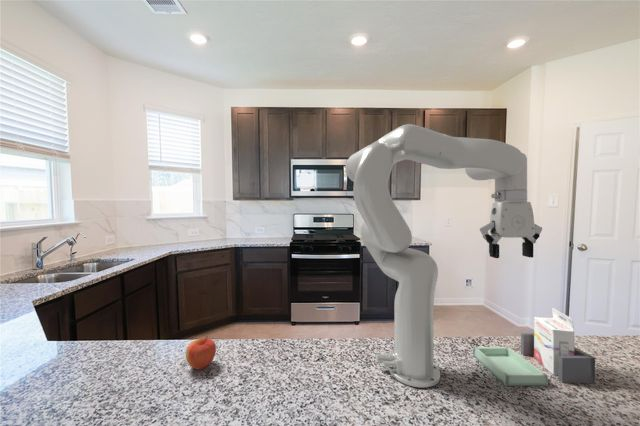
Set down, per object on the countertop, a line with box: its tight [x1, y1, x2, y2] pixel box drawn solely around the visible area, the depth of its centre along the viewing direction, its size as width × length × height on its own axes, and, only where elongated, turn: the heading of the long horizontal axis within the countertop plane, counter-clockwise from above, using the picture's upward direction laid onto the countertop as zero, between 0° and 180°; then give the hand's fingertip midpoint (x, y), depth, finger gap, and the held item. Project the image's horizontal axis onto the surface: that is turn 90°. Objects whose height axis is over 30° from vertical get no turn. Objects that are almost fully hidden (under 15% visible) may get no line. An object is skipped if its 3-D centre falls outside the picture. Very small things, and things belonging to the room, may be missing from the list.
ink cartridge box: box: [533, 307, 575, 376], centre depth 70 cm, size 9×5×15 cm, turn 168°
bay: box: [520, 332, 596, 384], centre depth 70 cm, size 8×13×6 cm, turn 0°
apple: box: [185, 335, 217, 371], centre depth 70 cm, size 7×7×8 cm
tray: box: [472, 346, 548, 387], centre depth 69 cm, size 10×13×2 cm
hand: (511, 257), depth 75 cm, fingers open, 9 cm apart
